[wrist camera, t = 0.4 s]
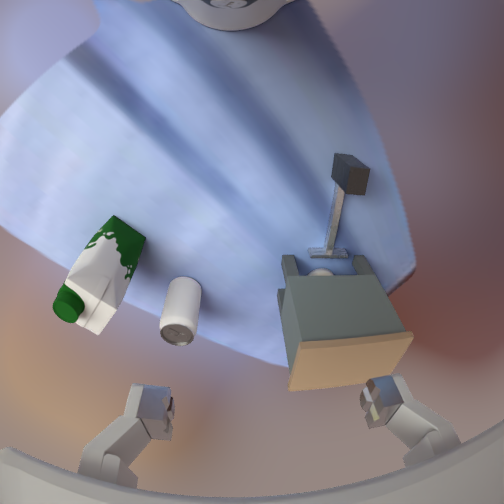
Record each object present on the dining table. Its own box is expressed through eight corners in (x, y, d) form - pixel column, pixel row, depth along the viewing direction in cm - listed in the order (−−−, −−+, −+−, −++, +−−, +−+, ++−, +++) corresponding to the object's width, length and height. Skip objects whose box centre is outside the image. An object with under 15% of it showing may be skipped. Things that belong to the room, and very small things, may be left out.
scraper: (322, 151, 41) (336, 165, 36) (363, 156, 42) (382, 170, 36) (307, 250, 51) (316, 274, 46) (343, 250, 52) (355, 274, 46)
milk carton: (111, 208, 45) (57, 283, 28) (153, 237, 48) (119, 322, 32) (92, 241, 48) (44, 318, 31) (130, 267, 52) (97, 351, 35)
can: (193, 304, 57) (187, 351, 47) (164, 292, 55) (152, 338, 45) (207, 283, 55) (202, 331, 45) (176, 269, 52) (165, 317, 42)
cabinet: (279, 252, 51) (301, 349, 34) (366, 253, 52) (414, 337, 35) (274, 299, 58) (288, 391, 40) (352, 296, 59) (386, 379, 41)
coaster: (306, 267, 54) (309, 274, 52) (336, 267, 54) (339, 273, 53) (302, 291, 57) (303, 298, 56) (330, 290, 58) (332, 297, 56)
